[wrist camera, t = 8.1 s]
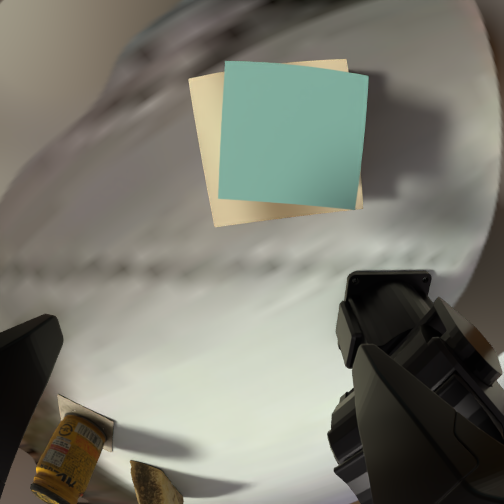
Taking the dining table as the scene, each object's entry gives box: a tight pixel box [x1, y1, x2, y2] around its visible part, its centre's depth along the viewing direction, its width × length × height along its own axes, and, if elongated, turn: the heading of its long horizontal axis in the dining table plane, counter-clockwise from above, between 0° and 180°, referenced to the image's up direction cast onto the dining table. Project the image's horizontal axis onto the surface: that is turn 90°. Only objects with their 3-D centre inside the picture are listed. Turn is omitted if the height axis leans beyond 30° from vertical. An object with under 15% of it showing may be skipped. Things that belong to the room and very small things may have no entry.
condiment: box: [30, 395, 114, 504], centre depth 25 cm, size 7×8×12 cm
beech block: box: [188, 59, 363, 227], centre depth 17 cm, size 8×8×4 cm
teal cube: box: [218, 61, 369, 210], centre depth 13 cm, size 5×5×5 cm
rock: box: [130, 460, 184, 504], centre depth 32 cm, size 11×9×10 cm
